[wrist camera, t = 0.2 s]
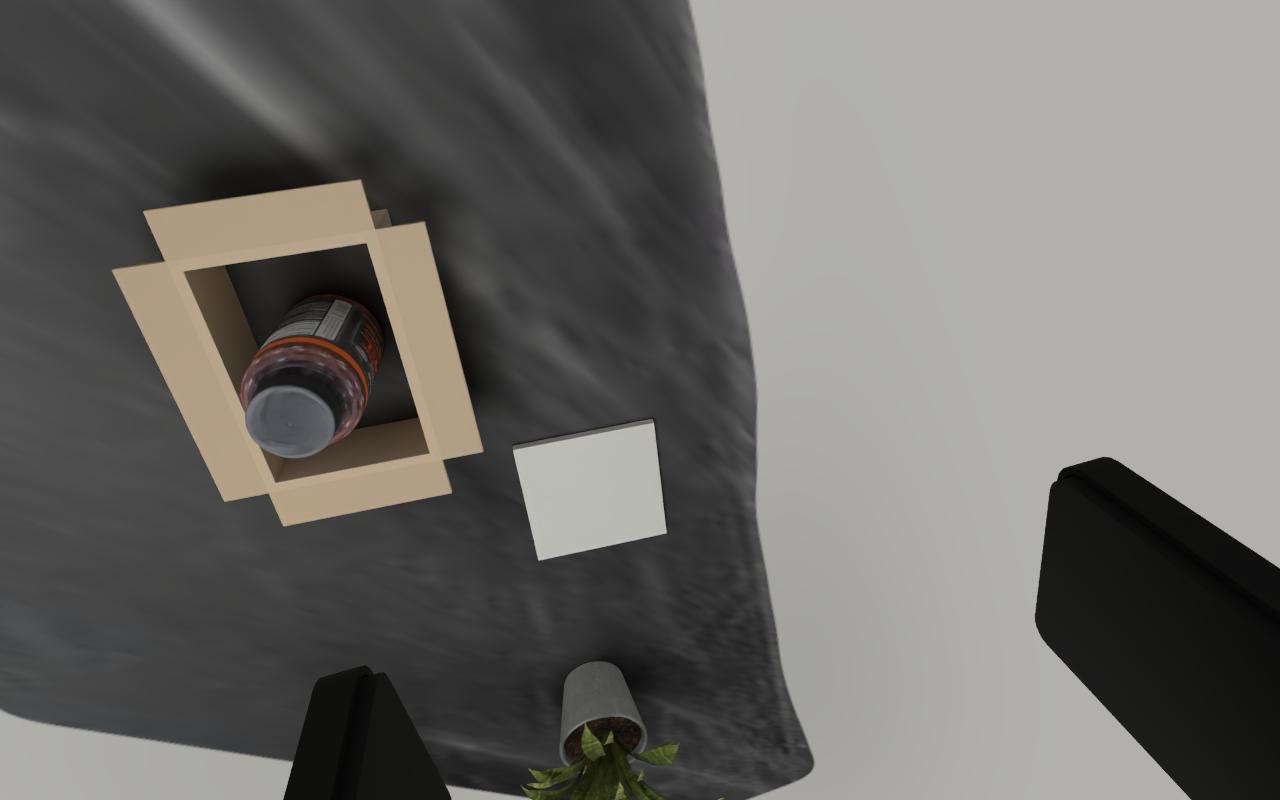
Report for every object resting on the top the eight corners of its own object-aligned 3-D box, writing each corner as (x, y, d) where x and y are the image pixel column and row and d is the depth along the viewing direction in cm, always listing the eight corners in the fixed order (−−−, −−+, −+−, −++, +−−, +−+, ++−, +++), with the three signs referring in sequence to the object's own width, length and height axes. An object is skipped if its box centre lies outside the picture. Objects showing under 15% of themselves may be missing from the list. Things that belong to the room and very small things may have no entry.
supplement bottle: (394, 375, 45) (368, 471, 35) (296, 385, 44) (241, 486, 34) (375, 286, 42) (341, 362, 32) (270, 294, 41) (202, 376, 31)
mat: (512, 445, 49) (512, 450, 48) (652, 418, 50) (653, 422, 50) (538, 555, 54) (538, 560, 53) (664, 528, 55) (666, 533, 54)
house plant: (620, 582, 57) (664, 766, 42) (709, 667, 63) (774, 850, 49) (483, 677, 58) (482, 883, 44) (584, 749, 65) (611, 949, 51)
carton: (133, 198, 38) (87, 219, 33) (419, 157, 39) (411, 172, 35) (263, 488, 47) (240, 534, 42) (491, 444, 49) (491, 484, 44)
